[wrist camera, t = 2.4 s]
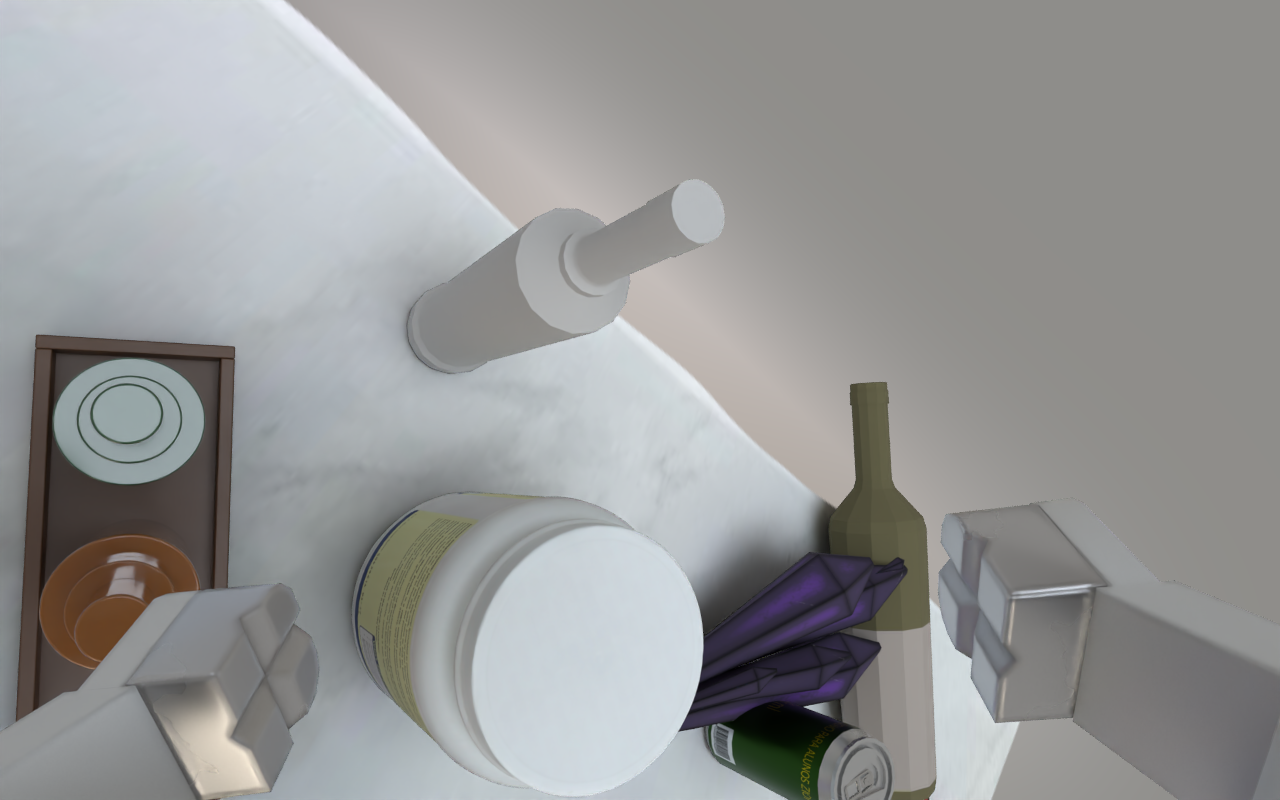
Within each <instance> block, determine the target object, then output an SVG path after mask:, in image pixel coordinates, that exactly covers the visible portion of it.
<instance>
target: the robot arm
mask: <svg viewBox="0 0 1280 800" xmlns="http://www.w3.org/2000/svg"><path fill="white" fill-rule="evenodd" d="M941 544H942V545H943V547H944V549H945V550H946V552H947V554H948V556H949V557H950V559H949V561H948V562H947V563H946V564H945V565H944V566H943V568H942V569H941V570H940V571H939V586H938V595H939V602H940V608H941V615H942V619H943V621H944V624H945V627H946V630H947V633H948V635H949V637H950V639H951V641H952V643H953V645H954V647H955V649H956V650H958V651H960V652H961V653H963V654H965V655H966V656H968V657H969V658H971V659H972V667H971V679H972V681H973V683H974V685H975V687H976V688H977V690H978V692H979V694H980V696H981V698H982V700H983V701H984V703H985V705H986V707H987V709H988V711H989V713H990V714H991V716H992V718H993V720H994V722H995V723H1001V722H1016V721H1031V720H1044V719H1045V720H1046V719H1061V718H1073V722H1074V723H1076V724H1077V725H1078V726H1080V727H1081V728H1083V729H1084V730H1085V731H1086V732H1088V733H1089V734H1090V735H1092V736H1093V737H1095V738H1096V739H1097V740H1099V741H1100V742H1101V743H1103V744H1104V745H1105V746H1107V747H1108V748H1109V749H1111V750H1112V751H1113V752H1115V753H1116V754H1118V755H1119V756H1120V757H1122V758H1123V759H1124V760H1126V761H1127V762H1128V763H1130V764H1131V765H1132V766H1134V767H1135V768H1136V769H1138V770H1139V771H1140V772H1142V773H1143V774H1145V775H1146V776H1147V777H1148V778H1150V779H1151V780H1153V781H1154V782H1155V783H1157V784H1158V785H1159V786H1161V787H1162V788H1163V789H1165V790H1166V791H1167V792H1169V793H1170V794H1171V795H1173V796H1174V797H1175V798H1177V799H1178V800H1280V624H1278V623H1275V622H1273V621H1271V620H1268V619H1266V618H1264V617H1261V616H1258V615H1256V614H1254V613H1252V612H1249V611H1247V610H1244V609H1242V608H1239V607H1237V606H1235V605H1232V604H1230V603H1227V602H1225V601H1223V600H1220V599H1218V598H1215V597H1213V596H1211V595H1208V594H1206V593H1204V592H1201V591H1199V590H1196V589H1194V588H1191V587H1189V586H1186V585H1184V584H1182V583H1179V582H1177V581H1175V580H1174V581H1162V582H1160V581H1159V580H1158V579H1157V578H1156V577H1155V576H1154V575H1153V574H1152V573H1151V572H1150V570H1149V569H1147V567H1146V566H1145V565H1144V564H1143V563H1142V562H1141V561H1140V560H1139V559H1138V558H1137V557H1136V556H1135V555H1134V554H1133V553H1132V552H1131V551H1130V550H1129V549H1128V548H1127V547H1126V546H1125V545H1124V544H1123V543H1122V542H1121V541H1120V540H1119V539H1118V538H1117V537H1116V536H1115V535H1114V533H1112V532H1111V530H1109V528H1108V527H1107V526H1106V525H1105V524H1104V523H1103V522H1102V521H1101V520H1100V519H1099V518H1098V517H1097V516H1096V515H1095V514H1094V513H1093V512H1092V511H1091V510H1090V509H1089V508H1088V507H1087V506H1086V505H1085V504H1084V503H1083V502H1082V501H1080V500H1077V499H1075V498H1066V499H1059V500H1051V501H1044V502H1036V503H1030V504H1029V505H1023V506H1014V507H1005V508H996V509H988V510H978V511H969V512H960V513H953V514H946V515H945V518H944V521H943V524H942V532H941ZM299 611H300V607H299V605H298V602H297V600H296V598H295V596H294V593H293V591H292V589H291V588H290V587H287V586H285V585H283V584H281V583H279V584H267V585H255V586H243V587H231V588H219V589H207V590H204V591H200V590H197V591H187V592H177V593H168V594H165V595H162V596H160V597H157V598H155V599H154V600H153V601H152V602H151V603H150V604H149V606H148V607H147V608H146V609H145V610H144V612H143V613H142V614H141V615H140V616H139V618H138V619H137V620H136V621H135V622H134V624H133V625H132V626H131V627H130V628H129V630H128V631H127V632H126V633H125V634H124V635H123V637H122V638H121V639H120V640H119V641H118V643H117V644H116V645H115V646H114V647H113V649H112V650H111V651H110V652H109V653H108V655H107V656H106V657H105V658H104V659H103V661H102V662H101V663H100V664H99V665H98V667H97V668H96V669H95V670H94V671H93V673H92V674H91V675H90V676H89V677H88V679H87V680H86V681H85V682H84V683H83V684H82V686H81V687H80V688H79V689H78V690H77V691H73V692H64V693H62V694H61V695H59V696H57V697H56V698H54V699H53V700H51V701H49V702H48V703H46V704H44V705H43V706H41V707H40V708H38V709H36V710H35V711H33V712H31V713H30V714H28V715H26V716H25V717H23V718H22V719H20V720H18V721H17V722H15V723H13V724H12V725H10V726H9V727H7V728H5V729H4V730H2V731H0V800H208V799H216V798H225V797H233V796H241V795H249V794H257V793H265V792H271V790H272V788H273V786H274V784H275V782H276V780H277V778H278V775H279V773H280V771H281V769H282V767H283V765H284V763H285V761H286V759H287V756H288V754H289V752H290V750H291V748H292V746H293V744H294V743H293V741H292V738H291V735H290V733H289V730H288V729H289V728H290V727H292V726H293V725H294V724H295V723H296V722H298V721H299V720H300V719H301V718H302V717H304V716H305V715H306V714H307V713H308V711H309V709H310V707H311V704H312V702H313V700H314V697H315V695H316V691H317V684H318V677H319V663H318V656H317V650H316V648H315V645H314V642H313V640H312V637H311V636H310V635H309V634H307V633H306V632H305V631H303V630H302V629H300V628H299V627H298V626H296V625H295V624H294V622H295V620H296V618H297V615H298V613H299Z"/></svg>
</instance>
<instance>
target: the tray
mask: <svg viewBox="0 0 1280 800" xmlns="http://www.w3.org/2000/svg"><path fill="white" fill-rule="evenodd" d="M35 347H36V348H37V349H35V364H34V383H33V402H32V421H31V440H30V459H29V478H28V497H27V516H26V535H25V554H24V573H23V592H22V611H21V630H20V649H19V668H18V687H17V706H16V722H17V721H18V720H20V719H22V718H23V717H25V716H26V715H28V714H30V713H31V712H33V711H35V710H36V709H38V708H40V707H41V706H43V705H44V704H46V703H48V702H49V701H51V700H53V699H54V698H56V697H57V696H59V695H61V694H62V693H64V692H73V691H77V690H78V689H79V688H80V687H81V686H82V684H83V683H84V682H85V681H86V680H87V679H88V677H89V676H90V675H91V674H92V673H93V671H94V670H93V669H88V668H85V667H81V666H78V665H76V664H74V663H72V662H70V661H68V660H67V659H65V658H63V657H62V656H61V655H60V654H59V653H57V652H56V651H55V650H54V649H53V647H52V646H51V645H50V644H49V642H48V641H47V639H46V637H45V636H44V633H43V630H42V628H41V623H40V618H39V606H40V599H41V595H42V592H43V589H44V587H45V585H46V582H47V580H48V579H49V577H50V576H51V574H52V573H53V571H54V570H55V569H56V568H57V566H58V565H59V564H60V563H61V562H62V561H63V560H64V559H65V558H66V557H67V556H69V555H70V554H71V553H72V552H73V551H74V550H75V549H76V548H77V547H78V546H79V545H80V544H82V543H83V542H84V541H85V540H86V539H87V538H88V537H89V536H90V535H92V534H93V533H94V532H96V531H97V530H99V529H101V528H102V527H104V526H107V525H109V524H111V523H115V522H118V521H122V520H127V519H147V520H152V521H156V522H159V523H162V524H165V525H166V526H168V527H170V528H172V529H173V530H174V531H176V532H177V533H178V534H179V535H180V536H181V537H182V538H183V540H184V541H185V543H186V544H187V546H188V548H189V551H190V554H191V557H192V560H193V562H194V565H195V568H196V571H197V574H198V577H199V582H200V589H201V591H204V590H207V589H219V588H228V556H229V524H230V492H231V460H232V428H233V397H234V365H235V360H234V358H235V347H232V346H216V345H200V344H183V343H167V342H151V341H134V340H118V339H102V338H85V337H69V336H53V335H36V344H35ZM117 358H144V359H149V360H153V361H156V362H159V363H162V364H165V365H167V366H169V367H171V368H173V369H174V370H176V371H178V372H179V373H180V374H182V375H183V376H184V377H185V378H186V379H187V380H188V381H189V382H190V383H191V384H192V385H193V386H194V388H195V389H196V391H197V392H198V394H199V396H200V398H201V400H202V403H203V406H204V411H205V431H204V434H203V438H202V441H201V443H200V445H199V447H198V449H197V450H196V452H195V454H194V455H193V456H192V457H191V459H190V460H189V461H188V462H187V463H186V464H185V465H184V466H182V467H181V468H180V469H178V470H177V471H176V472H174V473H172V474H171V475H169V476H167V477H165V478H162V479H160V480H157V481H154V482H151V483H146V484H141V485H130V486H127V485H114V484H108V483H105V482H101V481H98V480H95V479H93V478H90V477H89V476H87V475H85V474H83V473H81V472H80V471H79V470H77V469H76V468H75V467H73V466H72V465H71V464H70V463H69V462H68V461H67V460H66V458H65V457H64V456H63V455H62V453H61V451H60V450H59V448H58V446H57V444H56V441H55V438H54V434H53V429H52V417H53V410H54V407H55V404H56V401H57V399H58V397H59V395H60V393H61V392H62V390H63V389H64V388H65V386H66V385H67V384H68V383H69V382H70V381H71V380H72V379H73V378H74V377H75V376H77V375H78V374H79V373H81V372H82V371H84V370H85V369H87V368H89V367H91V366H93V365H95V364H98V363H101V362H103V361H107V360H111V359H117ZM217 799H220V798H216V799H208V800H217Z"/></svg>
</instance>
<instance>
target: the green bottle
mask: <svg viewBox="0 0 1280 800" xmlns="http://www.w3.org/2000/svg"><path fill="white" fill-rule="evenodd" d="M52 429H53V434H54V438H55V441H56V444H57V446H58V448H59V450H60V451H61V453H62V455H63V456H64V457H65V458H66V460H67V461H68V462H69V463H70V464H71V465H72V466H73V467H75V468H76V469H77V470H79V471H80V472H81V473H83V474H85V475H87V476H89V477H90V478H93V479H95V480H98V481H101V482H105V483H108V484H114V485H127V486H130V485H141V484H146V483H151V482H154V481H157V480H160V479H162V478H165V477H167V476H169V475H171V474H172V473H174V472H176V471H177V470H178V469H180V468H181V467H182V466H184V465H185V464H186V463H187V462H188V461H189V460H190V459H191V457H192V456H193V455H194V454H195V452H196V450H197V449H198V447H199V445H200V443H201V441H202V438H203V434H204V431H205V411H204V406H203V403H202V400H201V398H200V396H199V394H198V392H197V391H196V389H195V388H194V386H193V385H192V384H191V383H190V382H189V381H188V380H187V379H186V378H185V377H184V376H183V375H182V374H180V373H179V372H178V371H176V370H174V369H173V368H171V367H169V366H167V365H165V364H162V363H159V362H156V361H153V360H149V359H144V358H117V359H111V360H107V361H103V362H101V363H98V364H95V365H93V366H91V367H89V368H87V369H85V370H84V371H82V372H81V373H79V374H78V375H77V376H75V377H74V378H73V379H72V380H71V381H70V382H69V383H68V384H67V385H66V386H65V388H64V389H63V390H62V392H61V393H60V395H59V397H58V399H57V401H56V404H55V407H54V410H53V417H52Z"/></svg>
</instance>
